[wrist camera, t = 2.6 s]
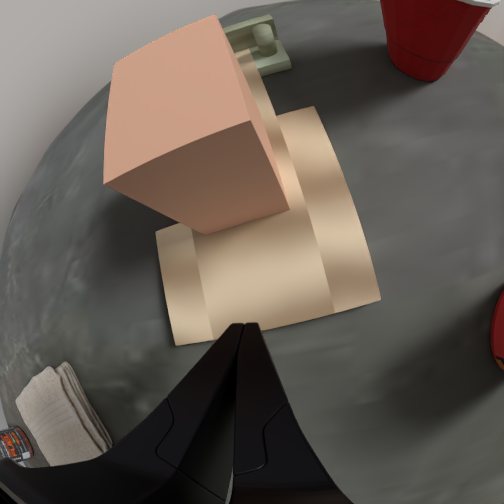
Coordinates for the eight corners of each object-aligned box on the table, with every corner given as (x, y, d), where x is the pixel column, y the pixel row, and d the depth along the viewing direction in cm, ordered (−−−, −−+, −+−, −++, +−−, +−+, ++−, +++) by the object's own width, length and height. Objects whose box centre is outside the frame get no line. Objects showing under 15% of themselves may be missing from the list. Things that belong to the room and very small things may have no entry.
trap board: (377, 299, 17) (392, 301, 13) (183, 343, 19) (152, 352, 15) (278, 43, 22) (269, 12, 18) (152, 91, 25) (131, 69, 21)
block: (290, 209, 18) (250, 119, 8) (205, 235, 19) (103, 184, 9) (260, 115, 19) (215, 13, 10) (189, 141, 21) (114, 63, 11)
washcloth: (128, 451, 20) (109, 462, 17) (65, 471, 22) (51, 477, 19) (70, 352, 23) (48, 355, 20) (25, 400, 25) (10, 403, 22)
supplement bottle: (37, 451, 23) (-14, 467, 12) (32, 460, 24) (-14, 475, 13) (18, 420, 25) (-33, 431, 14) (14, 432, 25) (-31, 442, 14)
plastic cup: (363, 21, 20) (359, -66, 8) (455, 49, 17) (478, -30, 5) (355, 82, 19) (355, -37, 8) (469, 118, 16) (521, 25, 5)
